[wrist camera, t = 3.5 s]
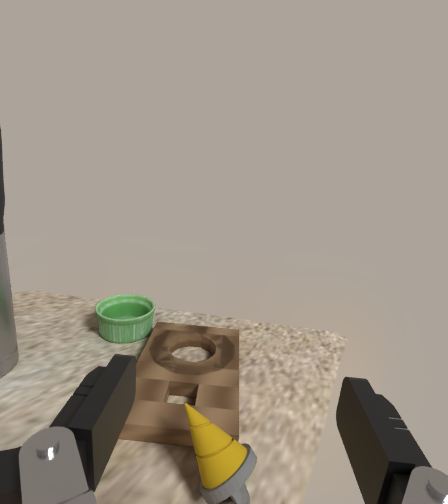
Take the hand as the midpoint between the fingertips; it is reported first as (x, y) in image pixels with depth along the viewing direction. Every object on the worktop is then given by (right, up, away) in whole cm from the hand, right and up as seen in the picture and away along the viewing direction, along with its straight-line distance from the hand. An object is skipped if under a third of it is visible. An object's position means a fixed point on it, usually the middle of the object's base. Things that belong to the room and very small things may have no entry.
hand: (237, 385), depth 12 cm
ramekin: (-16, -8, +39) cm, 43 cm away
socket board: (-5, -11, +29) cm, 32 cm away
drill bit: (-1, -16, +16) cm, 23 cm away
